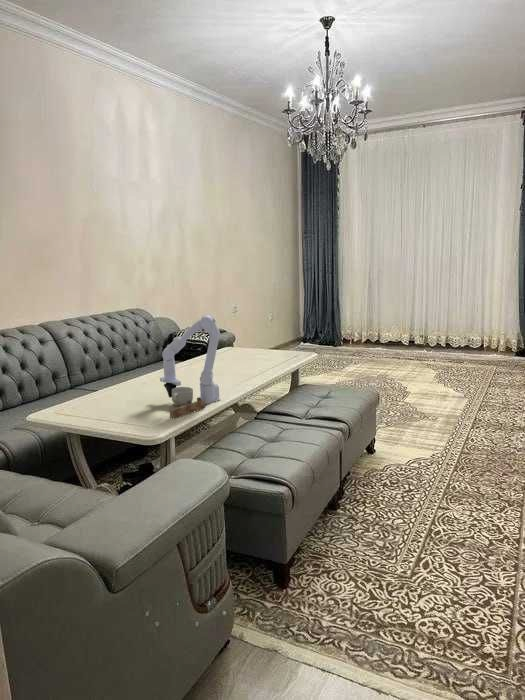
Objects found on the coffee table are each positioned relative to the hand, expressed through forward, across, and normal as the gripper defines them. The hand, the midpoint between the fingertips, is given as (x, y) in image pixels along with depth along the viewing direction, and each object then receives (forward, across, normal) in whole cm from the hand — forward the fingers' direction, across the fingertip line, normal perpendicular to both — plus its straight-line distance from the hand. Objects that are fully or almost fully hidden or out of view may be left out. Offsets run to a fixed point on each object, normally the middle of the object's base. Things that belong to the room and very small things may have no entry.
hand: (171, 397), depth 275 cm
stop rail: (+3, +20, -6) cm, 21 cm away
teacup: (+3, +8, 0) cm, 8 cm away
